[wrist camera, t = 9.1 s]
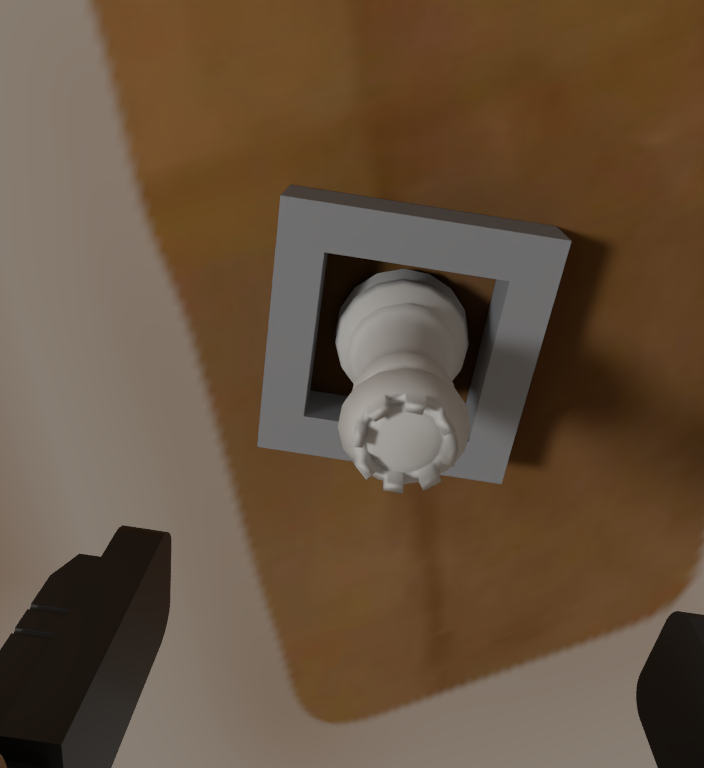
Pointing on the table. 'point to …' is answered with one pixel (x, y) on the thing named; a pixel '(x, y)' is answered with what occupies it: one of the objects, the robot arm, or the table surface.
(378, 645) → the table surface
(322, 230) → the socket plinth
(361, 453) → the rook chess piece
